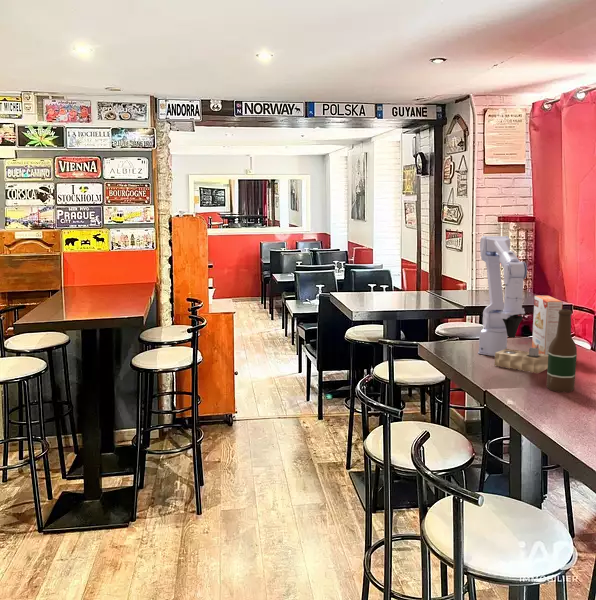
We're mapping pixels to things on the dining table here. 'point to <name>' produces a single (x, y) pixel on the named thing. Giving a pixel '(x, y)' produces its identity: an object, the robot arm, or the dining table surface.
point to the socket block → (521, 361)
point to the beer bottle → (562, 356)
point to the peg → (533, 352)
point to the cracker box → (545, 322)
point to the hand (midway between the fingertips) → (511, 337)
